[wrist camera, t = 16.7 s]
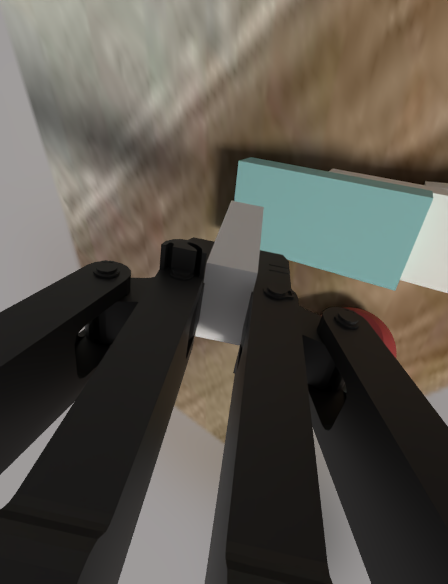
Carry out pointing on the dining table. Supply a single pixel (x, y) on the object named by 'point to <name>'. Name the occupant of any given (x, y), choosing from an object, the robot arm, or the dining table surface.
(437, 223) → the domino
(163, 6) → the dining table surface
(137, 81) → the dining table surface
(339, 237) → the domino
